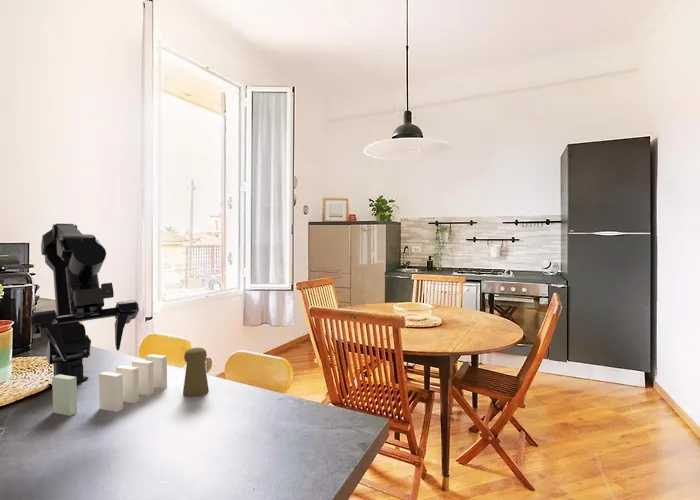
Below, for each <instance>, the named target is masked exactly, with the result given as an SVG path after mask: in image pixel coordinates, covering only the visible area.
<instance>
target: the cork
mask: <svg viewBox="0 0 700 500" xmlns="http://www.w3.org/2000/svg"><path fill="white" fill-rule="evenodd" d="M207 353H208V352H207V350H206V349H205V348H203V347H191V348H188V349H187V350H186V351H185V352H184V357H183V358H184V361H185V363H186V367H185V374H184V381H183V391H182V395H183V397H186V398H197V397H198V398H199V397H201V396H205V395H207V394H208V393H209V391H210V390H209V383H208V382H209V381H208V377H207V370H206V365H205V363H206V362H205V361H206V359H207V357H208V354H207Z"/></svg>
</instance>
